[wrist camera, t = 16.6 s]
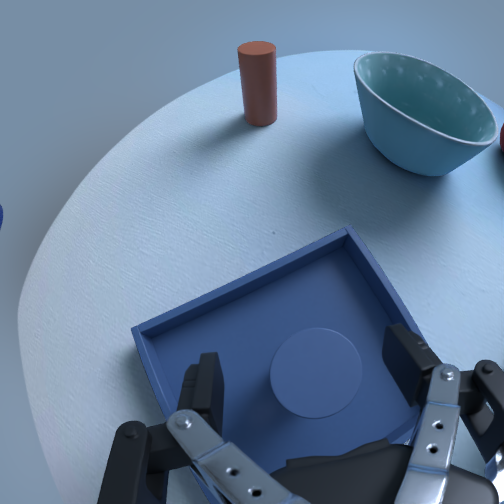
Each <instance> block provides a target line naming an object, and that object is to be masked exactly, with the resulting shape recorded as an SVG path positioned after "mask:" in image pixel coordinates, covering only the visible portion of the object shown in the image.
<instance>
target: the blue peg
mask: <svg viewBox="0 0 504 504" xmlns="http://www.w3.org/2000/svg"><path fill="white" fill-rule="evenodd" d="M269 381H270V386H271V390H272V392H273V394H274V396H275V398H276V400H277V401H278V402H279V403H280V405H281V406H282V407H283V408H285V409H286V410H287V411H289V412H290V413H292V414H294V415H296V416H299V417H302V418H306V419H322V418H327V417H330V416H333V415H335V414H337V413H339V412H340V411H342V410H343V409H344V408H346V407H347V406H348V405H349V404H350V403H351V402H352V400H353V399H354V397H355V396H356V394H357V392H358V390H359V388H360V385H361V381H362V363H361V359H360V356H359V354H358V352H357V350H356V348H355V347H354V345H353V344H352V343H351V342H350V341H349V340H348V339H347V338H346V337H345V336H343V335H342V334H340V333H338V332H336V331H333V330H330V329H326V328H309V329H305V330H301V331H299V332H297V333H294V334H293V335H291V336H290V337H288V338H287V339H286V340H285V341H284V342H283V343H282V344H281V345H280V346H279V347H278V349H277V350H276V352H275V353H274V355H273V358H272V360H271V364H270V369H269Z"/></svg>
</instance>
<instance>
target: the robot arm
mask: <svg viewBox="0 0 504 504" xmlns="http://www.w3.org/2000/svg"><path fill="white" fill-rule="evenodd" d="M382 359H383V362H384V364H385V366H386V367H387V369H388V371H389V372H390V374H391V376H392V377H393V379H394V381H395V382H396V384H397V386H398V387H399V389H400V391H401V393H402V394H403V396H404V398H405V399H406V401H407V403H408V405H409V406H410V408H411V407H414V406H417V405H419V406H420V410H419V413H418V417H417V420H416V423H415V427H414V430H413V433H412V436H411V439H410V442H409V445H404V444H389V441H388V439H387V438H384V439H380V440H377V441H374V442H370V443H366V444H363V445H361V446H359V447H357V448H355V449H353V450H351V451H349V452H347V453H345V454H343V455H339V456H307V457H300V458H294V459H287V460H286V466H285V467H283V468H280V469H278V470H276V471H274V472H272V473H270V474H267V473H266V472H265V471H264V470H263V469H262V468H260V467H259V466H258V465H257V464H256V463H255V462H253V461H252V460H251V459H250V458H249V457H248V456H247V455H246V454H244V453H243V452H242V451H241V450H240V449H239V448H238V447H237V446H236V445H235V444H234V443H232V442H231V441H227V442H226V441H224V440H223V439H222V425H223V407H224V390H225V385H224V377H223V372H222V368H221V364H220V360H219V356H218V353H217V352H207V353H201V355H200V360H199V364H191V365H190V366H189V367H188V369H187V370H186V371H185V375H184V379H183V383H182V388H181V392H180V397H179V401H178V406H177V410H176V412H174V413H173V414H172V415H170V416H169V418H168V420H167V422H165V423H163V424H160V425H155V426H151V427H146V426H145V424H143V423H142V422H140V421H128V422H126V423H123V424H122V425H121V426H119V428H118V429H117V431H116V434H115V437H114V441H113V444H112V448H111V451H110V455H109V458H108V462H107V466H106V470H105V473H104V477H103V481H102V485H101V489H100V494H99V498H98V502H97V504H166V497H167V486H168V475H169V470H172V469H177V468H181V467H185V466H189V467H190V468H191V469H192V471H193V472H194V473H195V474H196V475H197V477H198V478H199V479H200V480H201V481H202V482H203V484H204V485H205V486H206V487H207V488H208V489H209V490H210V491H211V493H212V494H213V495H214V496H215V498H216V499H217V500H218V501H219V503H220V504H504V372H503V370H502V369H501V368H500V367H499V366H498V365H497V364H496V363H495V362H493V361H491V360H481V361H479V362H478V363H477V364H476V366H475V368H474V370H470V371H459V369H458V368H457V367H455V366H454V365H451V364H443V363H442V362H441V361H440V359H439V358H438V357H437V356H436V354H435V353H434V352H433V351H432V350H431V348H429V346H428V345H427V344H426V343H425V341H424V340H423V339H422V338H421V337H420V335H418V334H416V333H414V332H413V331H407V329H406V328H405V327H404V326H403V325H402V324H401V323H399V324H394V325H390V326H386V328H385V332H384V340H383V347H382ZM486 402H488V403H489V405H490V406H491V408H492V409H493V412H494V415H493V413H492V412H491V410H490V409H489V407H488V406H487V404H486ZM459 415H460V417H461V419H462V420H463V422H464V424H465V426H466V427H467V429H468V431H469V433H470V435H471V436H472V438H473V440H474V442H475V444H476V445H477V447H478V449H479V451H480V453H481V455H482V457H483V459H484V461H485V462H486V464H487V465H486V467H485V476H486V477H485V478H484V477H482V476H479V475H477V474H474V473H472V472H469V471H467V470H464V469H462V468H459V467H457V466H454V465H452V464H450V462H451V458H452V454H453V449H454V444H455V439H456V434H457V428H458V422H459Z"/></svg>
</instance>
